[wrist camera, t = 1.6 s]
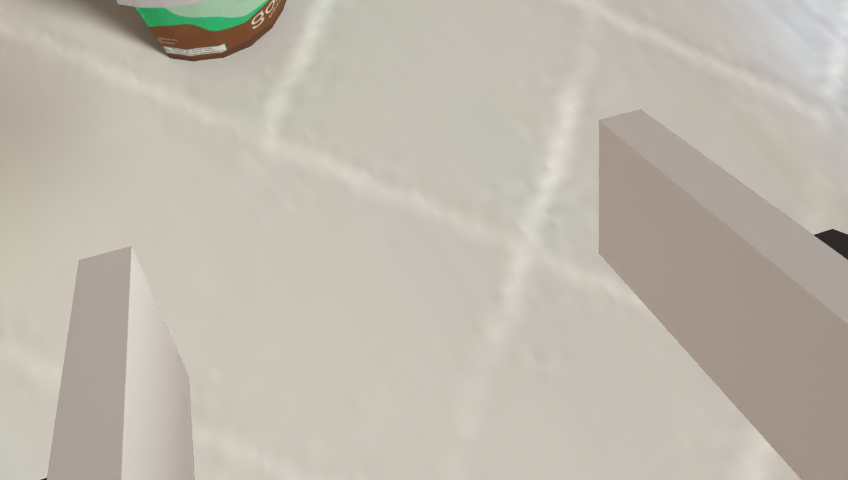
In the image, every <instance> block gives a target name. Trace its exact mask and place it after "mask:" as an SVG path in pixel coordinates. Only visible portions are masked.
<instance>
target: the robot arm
mask: <svg viewBox="0 0 848 480" xmlns="http://www.w3.org/2000/svg"><path fill="white" fill-rule="evenodd" d="M599 254H600V255H601V256H602V257H603V258H604V259H605V261H606V262H607V263H608V264H609V265H610V266H611V267H612V268H613V269H614V271H615V272H616V273H617V274H618V275H619V276H620V277H621V278H622V280H623V281H624V282H625V283H626V284H627V285H628V286H629V287H630V288H631V290H632V291H633V292H634V293H635V294H636V295H637V296H638V297H639V299H640V300H641V301H642V302H643V303H644V304H645V305H646V306H647V307H648V309H649V310H650V311H651V312H652V313H653V314H654V315H655V316H656V318H657V319H658V320H659V321H660V322H661V323H662V324H663V325H664V326H665V328H666V329H667V330H668V331H669V332H670V333H671V334H672V335H673V337H674V338H675V339H676V340H677V341H678V342H679V343H680V344H681V345H682V347H683V348H684V349H685V350H686V351H687V352H688V353H689V354H690V356H691V357H692V358H693V359H694V360H695V361H696V362H697V363H698V365H699V366H700V367H701V368H702V369H703V370H704V371H705V372H706V373H707V375H708V376H709V377H710V378H711V379H712V380H713V381H714V382H715V384H716V385H717V386H718V387H719V388H720V389H721V390H722V391H723V392H724V394H725V395H726V396H727V397H728V398H729V399H730V400H731V401H732V403H733V404H734V405H735V406H736V407H737V408H738V409H739V410H740V411H741V413H742V414H743V415H744V416H745V417H746V418H747V419H748V420H749V422H750V423H751V424H752V425H753V426H754V427H755V428H756V429H757V430H758V432H759V433H760V434H761V435H762V436H763V437H764V438H765V439H766V441H767V442H768V443H769V444H770V445H771V446H772V447H773V448H774V449H775V451H776V452H777V453H778V454H779V455H780V456H781V457H782V458H783V460H784V461H785V462H786V463H787V464H788V465H789V466H790V467H791V468H792V470H793V471H794V472H795V473H796V474H797V475H798V476H799V477H800V479H801V480H848V235H847V234H845V233H842V232H839V231H836V230H834V229H831V230H828V231H825V232H822V233H819V234H815V235H813V234H811V233H810V232H809V231H807V230H806V229H804V228H803V227H802V226H800V225H799V224H798V223H796V222H795V221H793V220H792V219H791V218H789V217H788V216H787V215H785V214H784V213H782V212H781V211H780V210H778V209H777V208H776V207H774V206H773V205H771V204H770V203H769V202H767V201H766V200H765V199H763V198H762V197H760V196H759V195H758V194H756V193H755V192H754V191H752V190H751V189H749V188H748V187H747V186H745V185H744V184H743V183H741V182H740V181H738V180H737V179H736V178H734V177H733V176H732V175H730V174H729V173H727V172H726V171H725V170H723V169H722V168H721V167H719V166H718V165H716V164H715V163H714V162H712V161H711V160H710V159H708V158H707V157H705V156H704V155H703V154H701V153H700V152H699V151H697V150H696V149H694V148H693V147H692V146H690V145H689V144H688V143H686V142H685V141H683V140H682V139H681V138H679V137H678V136H677V135H675V134H674V133H672V132H671V131H670V130H668V129H667V128H666V127H664V126H663V125H661V124H660V123H659V122H657V121H656V120H655V119H653V118H652V117H650V116H649V115H648V114H646V113H645V112H644V111H642V110H641V109H640V110H636V111H632V112H629V113H625V114H621V115H618V116H614V117H610V118H606V119H603V120H599ZM42 480H195V475H194V458H193V440H192V423H191V405H190V388H189V376H188V374H187V371H186V369H185V367H184V364H183V362H182V360H181V358H180V355H179V353H178V351H177V349H176V346H175V344H174V342H173V339H172V337H171V335H170V333H169V330H168V328H167V326H166V323H165V321H164V319H163V317H162V314H161V312H160V310H159V307H158V305H157V303H156V301H155V298H154V296H153V294H152V292H151V289H150V287H149V285H148V282H147V280H146V278H145V276H144V273H143V271H142V269H141V266H140V264H139V262H138V260H137V257H136V255H135V253H134V250H133V248H132V246H131V247H127V248H123V249H119V250H116V251H112V252H108V253H104V254H101V255H97V256H93V257H90V258H86V259H82V260H79V264H78V271H77V278H76V285H75V291H74V298H73V305H72V312H71V319H70V325H69V332H68V339H67V346H66V353H65V359H64V366H63V373H62V380H61V386H60V393H59V400H58V407H57V414H56V420H55V427H54V434H53V441H52V448H51V454H50V461H49V468H48V475H47V478H45V479H42Z"/></svg>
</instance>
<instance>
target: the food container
mask: <svg viewBox="0 0 848 480" xmlns="http://www.w3.org/2000/svg"><path fill="white" fill-rule="evenodd" d="M116 1H117V4H119V5H126V6H133V7H135V9H136V10H137V12H138V13H139V14H140V16H141V17H142V19H143V20H144V21H145V23H146V24H147V26H148V27H149V29H150V30H151V31H152V33H153V34H154V36H155V37H156V39H157V40H158V41H159V43H160V44H161V46H162V47H163V49H164V50H165V51H166V53H167V54H168V56H169V57H170V58H173V59H181V60H188V61H199V60H208V59H216V58H224V57H226V56H229V55H231V54H233V53H236V52H238V51H240V50H243V49H245V48H247V47H250V46H252V45H253V44H254V43H255V42H256V41H257V40H258V39H260V38H261V37H262V36H263V35H264V34H265V33H267V32H268V31H269V30H270V29H271V28H272V27H273V25H274V24H275V22H276V20H277V19H278V17H279V16H280V14H281V12H282V11H283V8H284V5H285V2H286V0H116Z"/></svg>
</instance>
